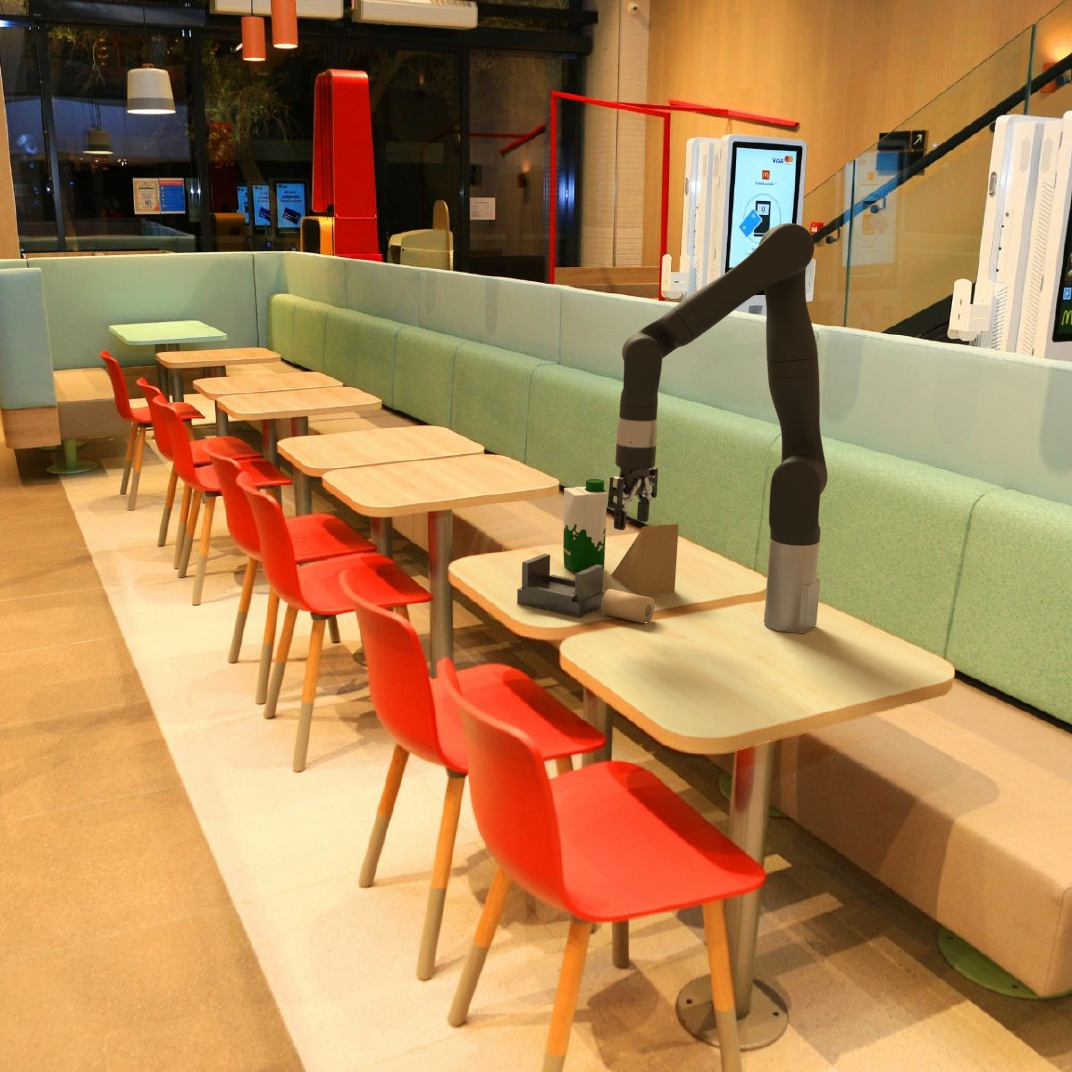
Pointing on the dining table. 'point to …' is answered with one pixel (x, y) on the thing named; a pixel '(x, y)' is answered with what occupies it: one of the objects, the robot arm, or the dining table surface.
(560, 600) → the roll holder
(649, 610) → the paper roll
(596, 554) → the milk carton
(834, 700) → the dining table surface
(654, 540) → the sandwich container
